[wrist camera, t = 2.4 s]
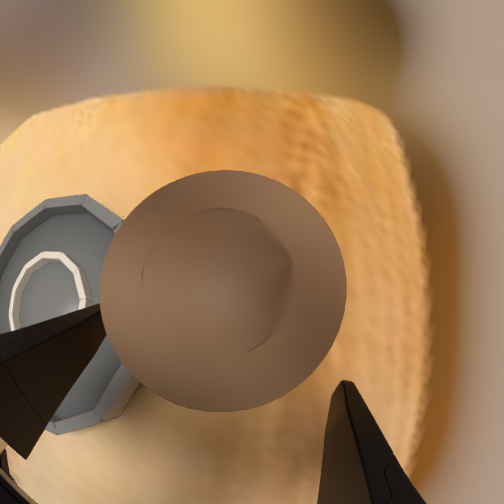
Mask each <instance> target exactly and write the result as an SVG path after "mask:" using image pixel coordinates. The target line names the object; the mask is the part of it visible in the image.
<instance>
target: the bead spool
mask: <svg viewBox="0 0 504 504" xmlns="http://www.w3.org/2000/svg"><path fill="white" fill-rule="evenodd" d="M345 303H346V273H345V267H344V261H343V258H342V255H341V251H340V248H339V246H338V243H337V241H336V239H335V237H334V234H333V232H332V231H331V229H330V228H329V226H328V224H327V223H326V221H325V220H324V218H323V217H322V216H321V215H320V214H319V212H318V211H317V210H316V209H315V208H314V207H313V206H312V205H311V204H310V203H309V202H308V201H307V200H306V199H305V198H303V197H302V196H301V195H299V194H298V193H297V192H295V191H294V190H293V189H291V188H289V187H287V186H285V185H284V184H282V183H280V182H278V181H275V180H273V179H270V178H268V177H265V176H261V175H258V174H254V173H249V172H243V171H232V170H219V171H208V172H203V173H197V174H193V175H190V176H187V177H184V178H181V179H178V180H176V181H174V182H171V183H169V184H167V185H166V186H164V187H162V188H160V189H159V190H157V191H155V192H154V193H153V194H151V195H150V196H148V197H147V198H146V199H144V200H143V201H142V202H141V203H140V204H139V205H138V206H137V207H136V208H135V209H134V210H133V211H132V212H131V213H130V214H129V215H128V217H127V218H126V219H125V220H124V222H123V223H122V225H121V226H120V228H119V229H118V231H117V232H116V234H115V236H114V238H113V240H112V242H111V244H110V246H109V248H108V251H107V254H106V256H105V259H104V263H103V268H102V272H101V279H100V308H101V315H102V320H103V324H104V327H105V331H106V334H107V336H108V339H109V341H110V343H111V345H112V348H113V349H114V351H115V353H116V354H117V356H118V358H119V359H120V361H121V362H122V363H123V365H124V366H125V367H126V368H127V370H128V371H129V372H130V373H131V374H132V375H133V376H134V377H135V378H136V379H137V380H138V381H139V382H140V383H141V384H143V385H144V386H145V387H146V388H148V389H149V390H151V391H152V392H154V393H155V394H157V395H158V396H160V397H162V398H164V399H166V400H168V401H170V402H172V403H175V404H178V405H181V406H184V407H187V408H190V409H195V410H201V411H207V412H232V411H240V410H246V409H250V408H254V407H257V406H261V405H264V404H266V403H269V402H271V401H273V400H275V399H277V398H280V397H281V396H283V395H285V394H286V393H288V392H289V391H291V390H293V389H294V388H296V387H297V386H298V385H299V384H300V383H302V382H303V381H304V380H305V379H306V378H307V377H309V376H310V375H311V374H312V372H313V371H314V370H315V369H316V368H317V367H318V366H319V364H320V363H321V362H322V361H323V359H324V358H325V356H326V355H327V353H328V351H329V350H330V348H331V347H332V345H333V343H334V340H335V338H336V336H337V334H338V331H339V329H340V326H341V322H342V319H343V315H344V310H345Z"/></svg>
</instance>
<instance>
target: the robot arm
mask: <svg viewBox="0 0 504 504" xmlns="http://www.w3.org/2000/svg"><path fill="white" fill-rule="evenodd" d="M106 335H107V334H106V331H105V327H104V324H103V320H102V315H101V308H100V303H98V304H95V305H92V306H89V307H86V308H83V309H80V310H77V311H73V312H70V313H67V314H64V315H61V316H58V317H55V318H52V319H48V320H45V321H42V322H39V323H36V324H33V325H30V326H26V327H23V328H20V329H17V330H13V331H10V332H6V333H2V334H0V504H37V503H36V502H35V501H34V500H33V499H32V498H30V497H29V496H28V495H27V494H26V493H25V492H24V491H23V490H22V489H21V488H20V487H19V486H18V485H16V484H15V483H14V482H13V481H12V480H11V479H10V478H9V477H8V476H9V474H10V473H9V467H8V461H7V454H6V450H5V447H6V446H7V445H9V446H10V447H11V448H12V449H14V450H15V451H16V452H17V453H18V454H19V455H21V456H22V457H23V458H24V459H25V460H26V459H27V458H28V456H29V455H30V453H31V451H32V450H33V448H34V446H35V445H36V443H37V441H38V440H39V438H40V436H41V435H42V433H43V431H44V430H45V428H46V427H47V426H46V425H48V423H49V422H50V420H51V418H52V417H53V415H54V414H55V412H56V411H57V409H58V408H59V406H60V405H61V403H62V402H63V400H64V399H65V397H66V396H67V394H68V393H69V391H70V390H71V388H72V387H73V385H74V384H75V382H76V381H77V380H78V378H79V377H80V375H81V374H82V372H83V371H84V370H85V368H86V367H87V365H88V364H89V363H90V361H91V360H92V358H93V357H94V356H95V354H96V352H97V351H98V349H99V347H100V346H101V344H102V342H103V340H104V339H105V337H106ZM317 504H426V502H425V501H424V500H423V498H422V497H421V495H420V494H419V493H418V491H417V490H416V488H415V487H414V486H413V484H412V483H411V481H410V480H409V478H408V477H407V475H406V474H405V472H404V471H403V469H402V467H401V466H400V464H399V462H398V460H397V458H396V457H395V455H393V451H392V450H391V448H390V446H389V444H388V442H387V441H386V439H385V437H384V435H383V433H382V432H381V430H380V428H379V426H378V424H377V423H376V421H375V419H374V417H373V416H372V414H371V412H370V410H369V409H368V407H367V405H366V403H365V402H364V400H363V398H362V396H361V395H360V393H359V391H358V389H357V388H356V386H355V384H354V383H353V382H352V381H347V380H342V381H341V382H340V383H339V385H338V386H337V388H336V389H335V391H334V392H333V394H332V397H331V402H330V408H329V414H328V419H327V424H326V430H325V436H324V448H323V459H322V468H321V477H320V486H319V493H318V501H317Z"/></svg>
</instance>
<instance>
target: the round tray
mask: <svg viewBox="0 0 504 504" xmlns="http://www.w3.org/2000/svg"><path fill="white" fill-rule="evenodd" d="M123 222H124V220H123V219H121V218H120V217H118V216H117V215H115V214H114V213H112V212H111V211H109V210H108V209H107V208H105V207H104V206H102V205H101V204H99V203H98V202H97V201H95V200H94V199H92V198H91V197H90V196H88V195H86V194H83V195H74V196H66V197H58V198H51V199H47V200H44V201H43V202H42V203H40V204H39V205H38V206H36V207H35V208H34V209H33V210H31V211H30V212H29V213H27V214H26V215H25V216H24V217H23V218H21V219H20V220H19V221H18V222H16V223H15V224H14V225H13V226H12V227H11V229H10V230H9V232H8V234H7V235H6V237H5V239H4V240H3V242H2V244H1V246H0V334H2V333H6V332H10V331H13V330H17V329H20V328H23V327H26V326H30V325H33V324H36V323H39V322H42V321H45V320H48V319H52V318H55V317H58V316H61V315H64V314H67V313H70V312H73V311H77V310H80V309H83V308H86V307H89V306H92V305H95V304H98V303H100V279H101V272H102V268H103V263H104V259H105V256H106V254H107V251H108V248H109V246H110V244H111V242H112V240H113V238H114V236H115V234H116V232H117V231H118V229H119V228H120V226H121V225H122V223H123ZM139 384H140V382H139V381H138V380H137V379H136V378H135V377H134V376H133V375H132V374H131V373H130V372H129V371H128V370H127V368H126V367H125V366H124V365H123V363H122V362H121V361H120V359H119V358H118V356H117V354H116V353H115V351H114V349H113V348H112V345H111V343H110V341H109V339H108V336H107V335H106V337H105V339H104V340H103V342H102V344H101V346H100V347H99V349H98V351H97V352H96V354H95V356H94V357H93V358H92V360H91V361H90V363H89V364H88V365H87V367H86V368H85V370H84V371H83V372H82V374H81V375H80V377H79V378H78V380H77V381H76V382H75V384H74V385H73V387H72V388H71V390H70V391H69V393H68V394H67V396H66V397H65V399H64V400H63V402H62V403H61V405H60V406H59V408H58V409H57V411H56V412H55V414H54V415H53V417H52V418H51V420H50V422H49V423H48V425H46V426H47V427H46V428H45V430H47V431H49V432H51V433H53V434H55V435H60V434H64V433H68V432H72V431H75V430H79V429H82V428H85V427H89V426H92V425H95V424H98V423H101V422H105V421H107V420H110V419H113V418H116V417H119V416H120V415H121V413H122V412H123V410H124V408H125V407H126V405H127V404H128V402H129V400H130V399H131V397H132V396H133V394H134V392H135V391H136V389H137V388H138V386H139Z"/></svg>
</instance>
